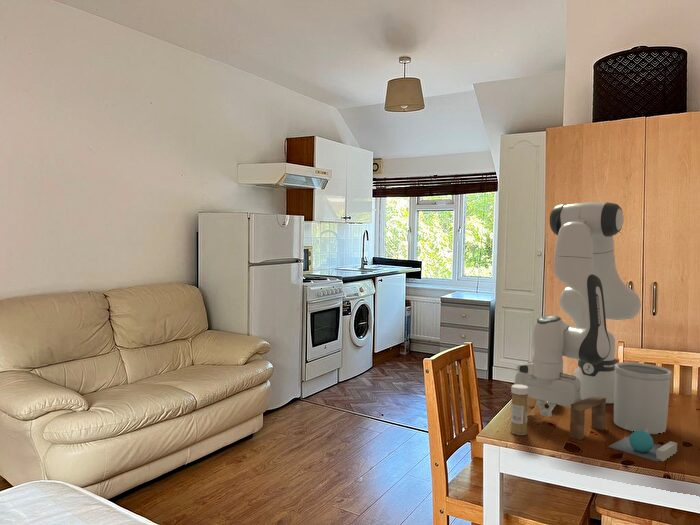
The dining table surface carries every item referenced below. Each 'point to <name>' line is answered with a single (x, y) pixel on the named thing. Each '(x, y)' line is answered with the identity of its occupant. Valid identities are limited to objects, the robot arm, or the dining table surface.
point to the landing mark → (626, 447)
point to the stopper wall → (666, 451)
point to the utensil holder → (641, 397)
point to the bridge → (579, 415)
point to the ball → (641, 441)
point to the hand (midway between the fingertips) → (545, 415)
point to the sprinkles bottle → (519, 409)
